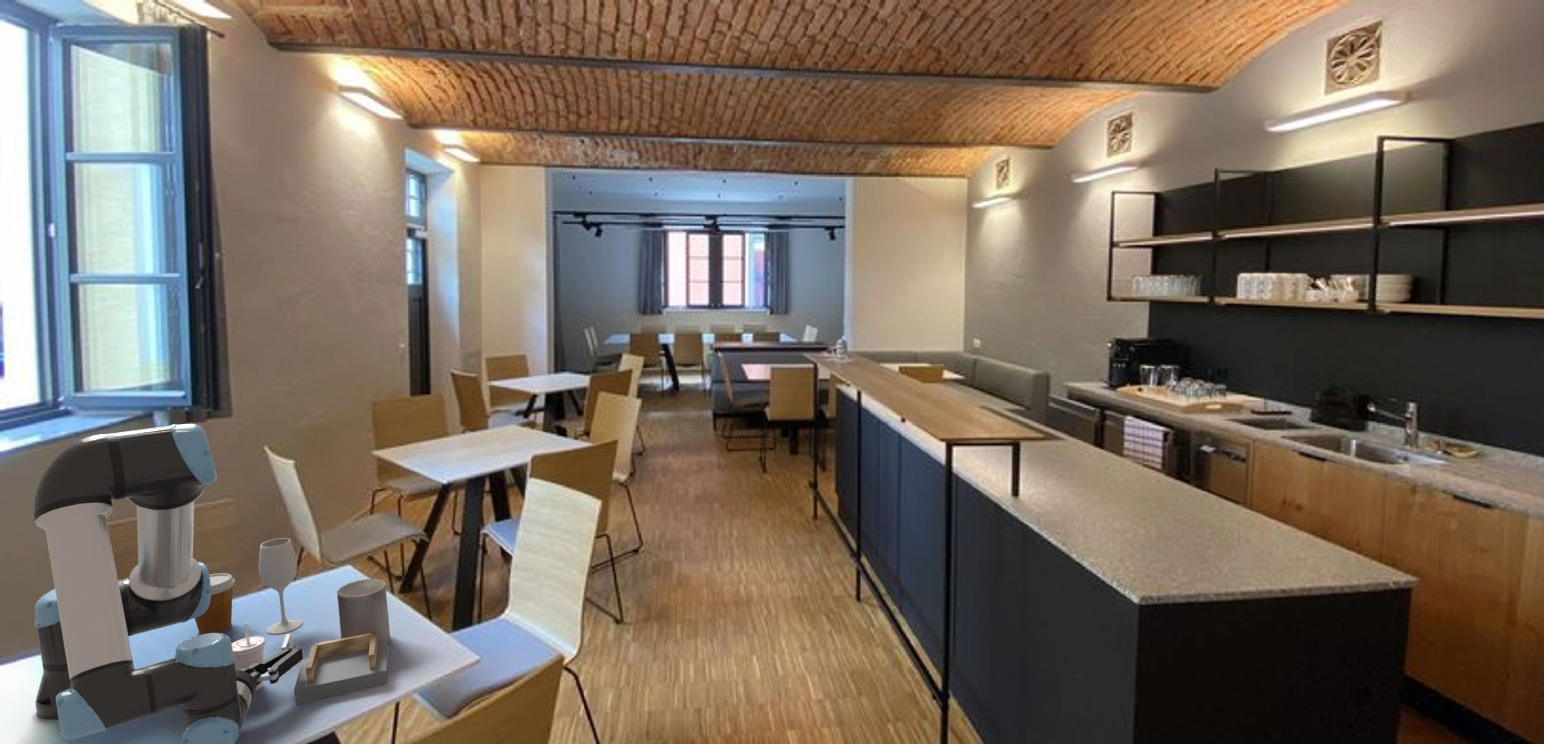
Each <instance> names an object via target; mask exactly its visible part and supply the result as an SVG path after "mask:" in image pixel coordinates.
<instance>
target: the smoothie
mask: <svg viewBox="0 0 1544 744" xmlns="http://www.w3.org/2000/svg"><path fill="white" fill-rule="evenodd" d="M243 625H244V631H245V637H244V638H241V639H238V640H236V641H234V642H231V644H232V650H233V655H234V657H235V670H240V669H242V668H247V667H248V666H250V665H252V664H254V663H256V662H258V663H260V662H262V661H264V649H265V646H266V640H265V637H264V636H261V635H260V636H259V635H256V636H250V631H249V630H250V629H249V623H248V622H244V624H243ZM254 670H255V669H254ZM262 687H263V681H261V683H260V684H259V685H257V686H256V690H255V692H257V691H259V690H260V689H262Z"/></svg>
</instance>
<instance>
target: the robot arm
mask: <svg viewBox="0 0 1544 744" xmlns="http://www.w3.org/2000/svg"><path fill="white" fill-rule="evenodd" d="M217 476H218V475H217V471H216V466H215V461H214V457H213V453H212V451H211V447H210V443H209V439H208V437H207V434H206V430H205V429H204V427H202V426H201V425H199V424H196V423H184V424H176V423H174V424H170V425H165V426H158V427H157V426H156V427H149V428H148V427H147V428H142V429H141V428H140V429H133V430H127V431H119V432H111V433H100V434H94V435H93V434H92V435H90V436H86V437H83V438H81V439H79V440H77V441H75V442H73V443H72V444H70V445H68V446H67V447H65V448H64V449H63V450H62V451H60V452H59V453H58V454H57V455H56V456H55V457H54V458H53V459H52V461H51V462H49V464H48V466H47V467H46V468H45V469H44V472H43V473H42V475H41V477H40V479H39V481H38V484H37V486H36V489H35V492H34V496H33V502H32V508H33V516H34V517H33V518H34V523H35V526H36V527H38V528H40V529H42V530H44V531H45V536H46V541H47V548H48V554H49V561H50V565H51V572H52V578H53V583H54V585H53V586H54V588H53V589H51V590H50V591H47V592H46V593H44V594H43V595H42V596H41V597H40V598H39V599H38V600H37V601H36V603H35V606H34V615H35V616H34V617H35V621H34V627H35V628H37V635H38V642H39V649H40V657H41V664H42V669H43V670H42V671H43V673H42V677H41V680H40V683H39V687H38V691H37V694H36V697H35V698H36V699H35V709H36V714H37V716H39V717H40V718H44V719H58V724H59V728H60V729H59V730H60V735H61V737H62V738H63V739H64V740H67V741H69V740H70V741H74V740H76V739H80V738H81V739H82V738H83V737H87V736H90V735H91V736H92V735H94V734H97V733H101V732H102V733H104V732H106V731H108V730H110V729H112V728H116V727H119V726H121V725H125V724H127V723H130V722H133V721H134V722H135V721H136V720H139V719H142V718H146V717H149V716H151V715H154V714H158V713H160V712H163V711H166V710H169V709H173V708H175V707H177V706H178V707H179V706H182V710H183V717H184V723H185V724H184V725H185V730H184V731H183V732H182V735H181V740H180V744H235V743H236V742H237V741H238V740H239V739H238V738H239V737H240V734H241V729H242V726H243V724H244V720H245V718H246V715H247V713H248V712H249V711H248V710H249V707H250V705H251V702H252V700H253V697H254V696H255V693H256V691H255V690H256V686H257V685H259V684H260V683H261V681H262V682H266V681H269V684H270V685H274V684H276V683H278V681H279V680H280V678H281V677H282V676H283V675H285V674H286V673H288V671H290V670H292V668H293V667H295V666H296V665H297V664H298V663H301V662H302V661H303V660H304V653H303V646H297V647H296V643H295V642H294V641H293V642H292V635H291V634H292V633H290V632H289V633H285V634H286V635H285V636H284V639H283V643H282V645H281V651H278V652H277V653H275V654H273V655H271V656H269V657H268V658H265V659H263V661H262V662H260V663H258V662H256V663H254V664H252V665H250V666H248V667H247V668H242V669H240V670H235V657H234V655H233V650H232V639H231V637H229V636H228V635H227V634H224V633H223V632H218V633H208V634H198V635H196V636H193V637H191V638H190V639H185V640H183V641H182V642H180V644H179V645H178V646H177V647H176V649H175V655H174V658H170V659H167V660H165V661H160V662H157V663H154V664H151V665H148V666H147V665H146V666H144V667H140V668H137V669H135V665H134V660H133V655H132V654H133V653H132V649H131V644H130V640H129V637H131V636H135V635H138V634H139V635H140V634H142V633H146V632H150V631H153V630H158V629H161V628H165V627H170V626H173V625H177V624H180V623H181V624H182V623H185V622H188V621H190V620H193V619H195V618H196V617H199V616H201V615H203V614H204V613H205V612H206V611H207V609H208V607H209V604H210V599H211V592H210V589H211V582H210V576H209V575H210V573H209V569H208V566H207V565H206V564H205V563H204V562H201V561H197V559H196V558H194V557H193V555H194V553H193V551H194V526H195V525H194V522H195V521H194V519H195V517H194V516H195V501H197V500H198V499H199V498H200V496H201V495H202V494H203V492H204V489H205V487H206V486H209V485H210V484H213V483H215V482H216V481H217V479H218V477H217ZM124 499H128V501H129V503H131V504H132V505H134V506H136V525H137V526H136V527H137V532H136V533H137V554H138V555H137V558H138V559H137V560H138V561H137V563H138V564H137V565H136V566H135V567H134V568H133V569H132V570H131V572H130V574H129V577H125V578H122V579H119V577H118V573H117V567H116V562H115V556H114V550H113V547H112V540H111V535H110V529H109V523H108V519H107V518H108V517H109V516H110V515H111V514H112V513H113V512H114V508H113V507H114V506H113V501H117V500H124ZM254 669H255V670H254Z"/></svg>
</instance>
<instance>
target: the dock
mask: <svg viewBox="0 0 1544 744" xmlns="http://www.w3.org/2000/svg"><path fill="white" fill-rule="evenodd" d="M389 651H390V650H389V643H385V644H380V645H378V646H377V657H376V667H375V668H374V669H370V666H369V649H364V650H359V651H354V652H349V653H344V654H339V655H334V656H329V657H324V658H319V660H318V664H317V668H316V672H315V676H314V680H313V681H312V682H307V676H306V665H307V662H308V658H305V659H304V658H303V659H302V660H301V664H300V668H299V671H298V675H297V678H296V682H295V685H294V688H293V693H294V702H295V703H294V704H295V705H299V704H303V703H307V702H312V701H318V700H322V699H326V698H330V697H335V696H340V695H345V694H348V693H355V692H359V691H362V690H367V689H372V688H377V687H381V686H386V685H388V679H389V678H388V677H389V676H388V675H389V663H390V662H389V661H390V652H389Z"/></svg>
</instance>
